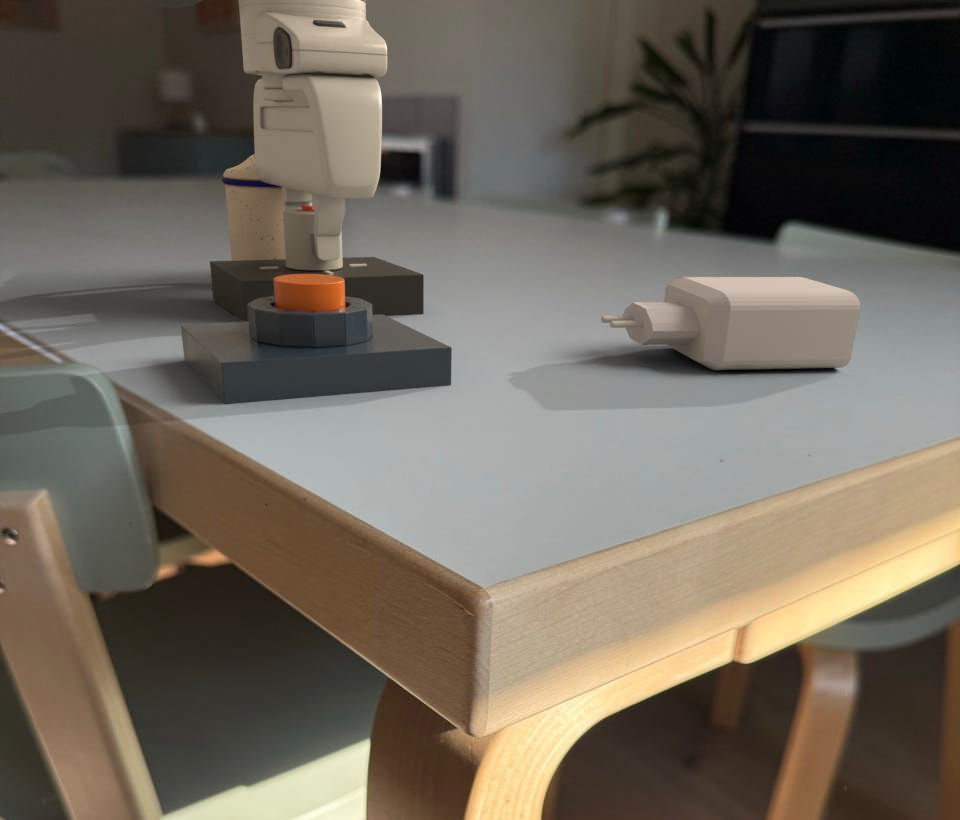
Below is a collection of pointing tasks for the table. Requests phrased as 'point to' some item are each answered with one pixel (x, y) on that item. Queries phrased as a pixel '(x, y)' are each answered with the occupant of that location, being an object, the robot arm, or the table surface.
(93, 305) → the table surface
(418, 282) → the kettle base
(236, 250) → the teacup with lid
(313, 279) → the power button
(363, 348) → the switch block
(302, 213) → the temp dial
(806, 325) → the charger
